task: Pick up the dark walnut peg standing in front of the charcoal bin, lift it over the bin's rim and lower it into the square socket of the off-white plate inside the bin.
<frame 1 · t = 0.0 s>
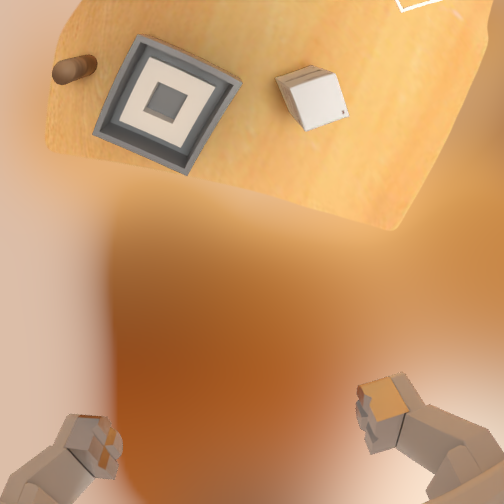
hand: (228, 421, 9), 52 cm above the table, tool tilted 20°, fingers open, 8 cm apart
bin: (168, 98, 48), on the table
peg: (87, 65, 42), on the table
supplement box: (299, 88, 50), on the table
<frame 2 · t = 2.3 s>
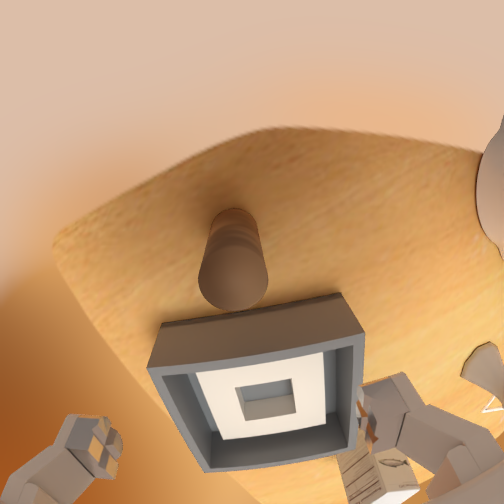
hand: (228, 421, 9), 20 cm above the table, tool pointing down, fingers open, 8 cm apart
bin: (264, 376, 33), on the table
peg: (234, 231, 27), on the table
flask: (477, 359, 36), on the table
supplement box: (364, 439, 40), on the table
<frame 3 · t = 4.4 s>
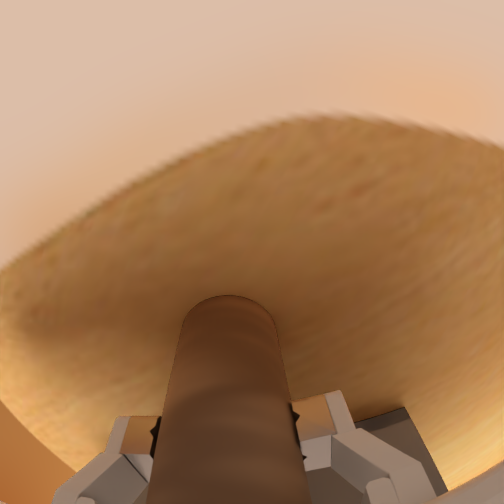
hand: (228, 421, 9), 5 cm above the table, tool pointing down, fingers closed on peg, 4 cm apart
bin: (276, 497, 19), on the table
peg: (228, 336, 13), on the table, touching gripper
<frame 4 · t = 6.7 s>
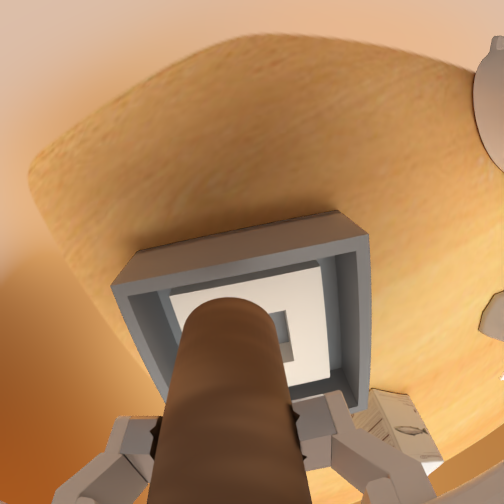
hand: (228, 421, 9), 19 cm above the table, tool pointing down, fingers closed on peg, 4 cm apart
bin: (255, 318, 30), on the table
peg: (229, 338, 13), point 15 cm above the table, touching gripper
flask: (495, 311, 33), on the table
supplement box: (375, 407, 36), on the table
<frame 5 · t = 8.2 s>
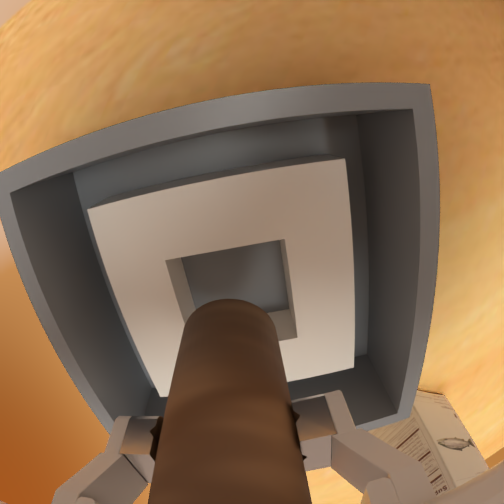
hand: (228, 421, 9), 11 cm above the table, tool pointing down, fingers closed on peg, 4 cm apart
bin: (235, 269, 19), on the table
peg: (229, 339, 13), point 7 cm above the table, touching gripper
supplement box: (401, 412, 26), on the table
when the fingers open (7 cm above the table, at t = 9.4 s): peg stays where it is, resting on bin.
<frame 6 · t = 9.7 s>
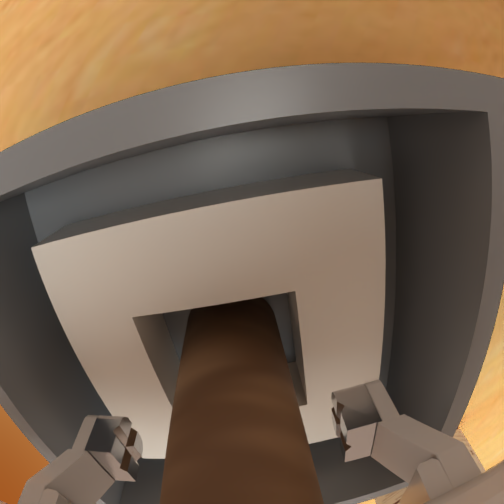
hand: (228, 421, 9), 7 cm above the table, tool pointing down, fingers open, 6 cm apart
bin: (228, 314, 15), on the table
peg: (231, 327, 14), point 1 cm above the table, touching bin
supplement box: (413, 449, 21), on the table
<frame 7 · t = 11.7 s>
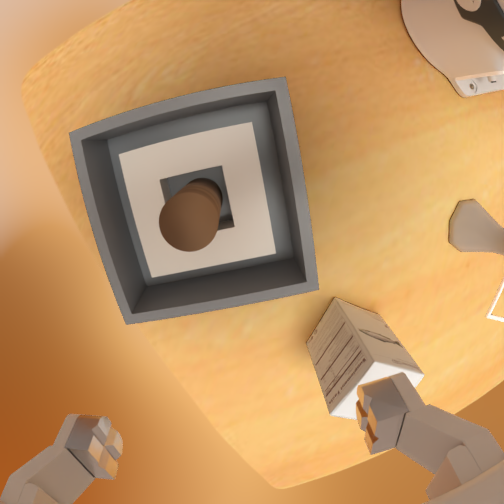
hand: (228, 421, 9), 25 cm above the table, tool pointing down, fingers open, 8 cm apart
bin: (201, 195, 31), on the table
peg: (201, 198, 30), point 1 cm above the table, touching bin
flask: (465, 224, 34), on the table
supplement box: (342, 327, 37), on the table
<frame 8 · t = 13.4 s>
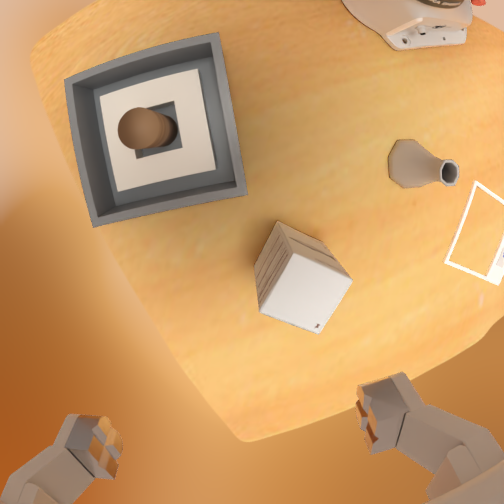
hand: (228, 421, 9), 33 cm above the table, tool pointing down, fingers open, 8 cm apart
photo frame: (486, 236, 44), on the table
bin: (162, 130, 36), on the table
peg: (161, 130, 35), point 1 cm above the table, touching bin
flask: (407, 163, 39), on the table
supplement box: (287, 253, 43), on the table
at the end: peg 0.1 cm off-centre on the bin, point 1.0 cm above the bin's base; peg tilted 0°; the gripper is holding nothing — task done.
